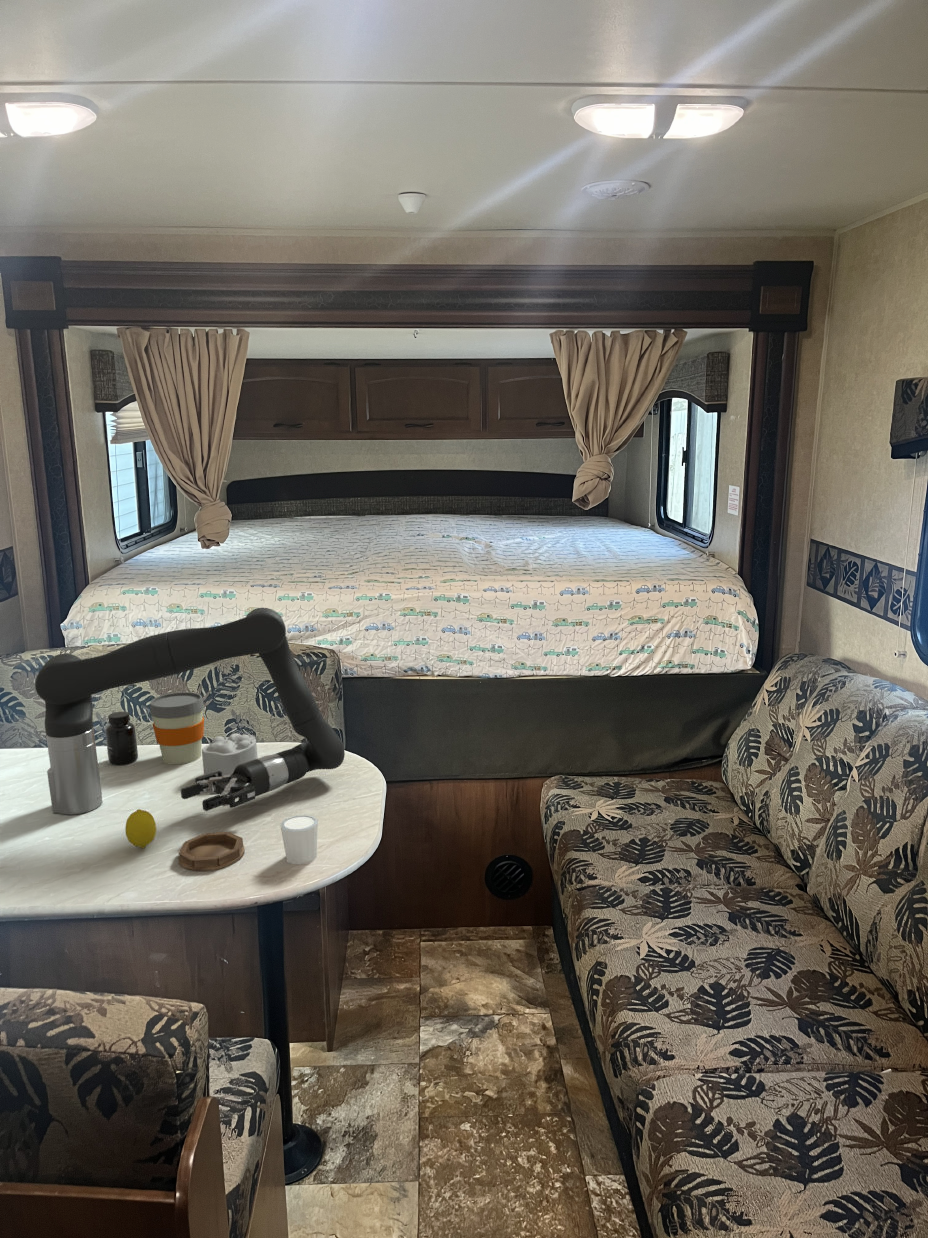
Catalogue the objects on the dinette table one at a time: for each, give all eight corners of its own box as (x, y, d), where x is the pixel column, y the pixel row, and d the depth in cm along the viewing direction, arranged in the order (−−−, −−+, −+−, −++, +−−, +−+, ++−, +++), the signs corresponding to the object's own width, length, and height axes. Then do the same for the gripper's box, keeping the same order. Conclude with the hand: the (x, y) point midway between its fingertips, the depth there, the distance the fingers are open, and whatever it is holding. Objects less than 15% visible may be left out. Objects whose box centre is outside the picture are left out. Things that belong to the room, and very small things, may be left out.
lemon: (132, 842, 170) (128, 804, 168) (161, 840, 170) (157, 802, 168) (124, 856, 164) (119, 817, 163) (153, 854, 165) (149, 815, 163)
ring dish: (172, 873, 157) (171, 863, 157) (186, 842, 169) (185, 833, 168) (239, 869, 158) (238, 859, 158) (249, 838, 170) (248, 829, 170)
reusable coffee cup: (153, 753, 217) (147, 696, 214) (205, 745, 222) (199, 689, 218) (157, 770, 206) (150, 710, 202) (211, 761, 210) (206, 702, 207)
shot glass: (324, 848, 165) (322, 814, 164) (314, 866, 158) (312, 831, 157) (289, 848, 166) (286, 814, 164) (278, 865, 159) (275, 830, 158)
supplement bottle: (103, 765, 210) (97, 718, 207) (118, 755, 216) (113, 709, 214) (129, 766, 209) (123, 719, 206) (144, 756, 215) (138, 710, 213)
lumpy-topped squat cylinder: (198, 780, 200) (194, 744, 198) (234, 760, 211) (231, 726, 209) (234, 786, 195) (231, 750, 193) (269, 766, 207) (266, 731, 205)
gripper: (241, 751, 189) (172, 774, 178) (279, 767, 179) (209, 792, 168) (244, 783, 191) (176, 807, 179) (282, 801, 181) (212, 828, 170)
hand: (192, 800), depth 174 cm, fingers open, 8 cm apart
